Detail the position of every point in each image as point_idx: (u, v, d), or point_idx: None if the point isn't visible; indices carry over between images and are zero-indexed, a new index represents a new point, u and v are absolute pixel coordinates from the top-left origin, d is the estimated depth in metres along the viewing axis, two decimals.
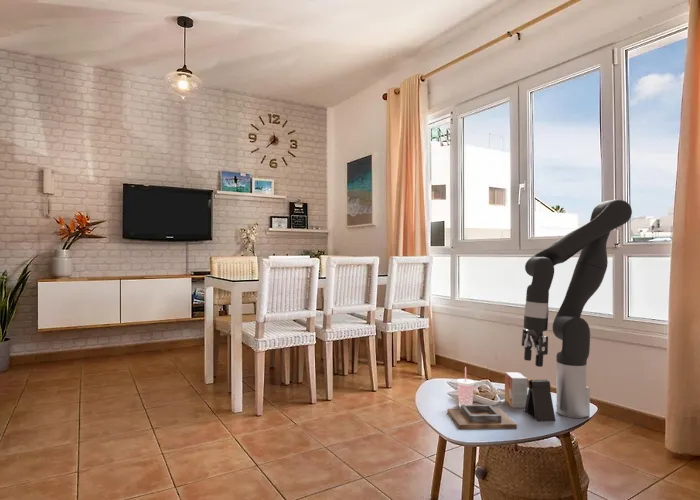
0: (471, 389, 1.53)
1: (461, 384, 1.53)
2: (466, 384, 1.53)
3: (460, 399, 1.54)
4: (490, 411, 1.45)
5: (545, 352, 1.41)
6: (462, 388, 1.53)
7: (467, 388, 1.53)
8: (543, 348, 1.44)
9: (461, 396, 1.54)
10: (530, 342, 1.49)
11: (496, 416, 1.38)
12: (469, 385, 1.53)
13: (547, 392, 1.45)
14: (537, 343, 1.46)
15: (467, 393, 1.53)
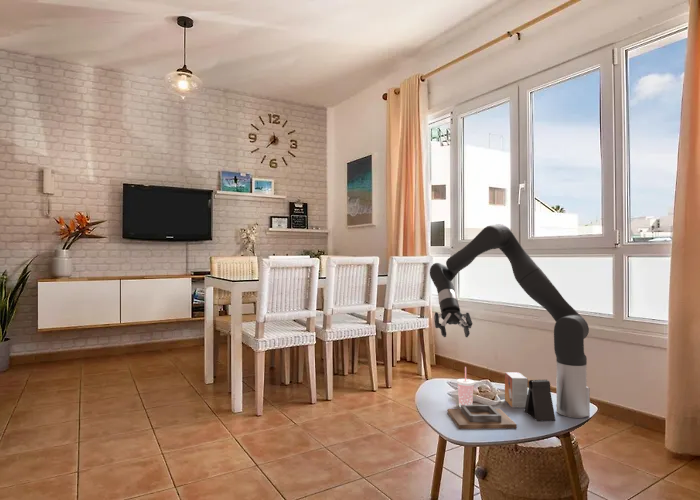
0: (471, 389, 1.53)
1: (461, 384, 1.53)
2: (466, 384, 1.53)
3: (460, 399, 1.54)
4: (490, 411, 1.45)
5: (435, 323, 1.70)
6: (462, 388, 1.53)
7: (467, 388, 1.53)
8: (443, 321, 1.70)
9: (461, 396, 1.54)
10: None
11: (496, 416, 1.38)
12: (469, 385, 1.53)
13: (547, 392, 1.45)
14: None
15: (467, 393, 1.53)
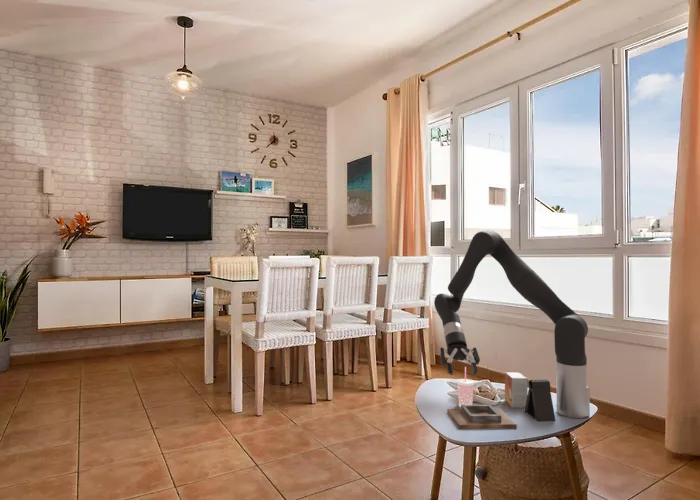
0: (471, 389, 1.53)
1: (461, 384, 1.53)
2: (466, 384, 1.53)
3: (460, 399, 1.54)
4: (490, 411, 1.45)
5: (441, 360, 1.62)
6: (462, 388, 1.53)
7: (467, 388, 1.53)
8: (449, 357, 1.62)
9: (460, 396, 1.54)
10: None
11: (496, 416, 1.38)
12: (469, 385, 1.53)
13: (547, 392, 1.45)
14: None
15: (467, 393, 1.53)
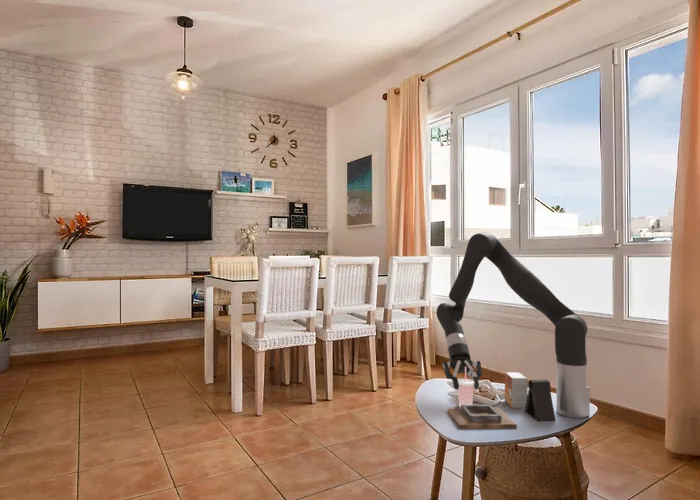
0: (471, 389, 1.53)
1: (461, 384, 1.53)
2: (466, 384, 1.53)
3: (460, 399, 1.54)
4: (490, 411, 1.45)
5: (447, 374, 1.57)
6: (462, 388, 1.53)
7: (467, 388, 1.53)
8: (454, 371, 1.57)
9: (460, 396, 1.54)
10: None
11: (496, 416, 1.38)
12: (469, 385, 1.53)
13: (547, 392, 1.45)
14: None
15: (467, 393, 1.53)
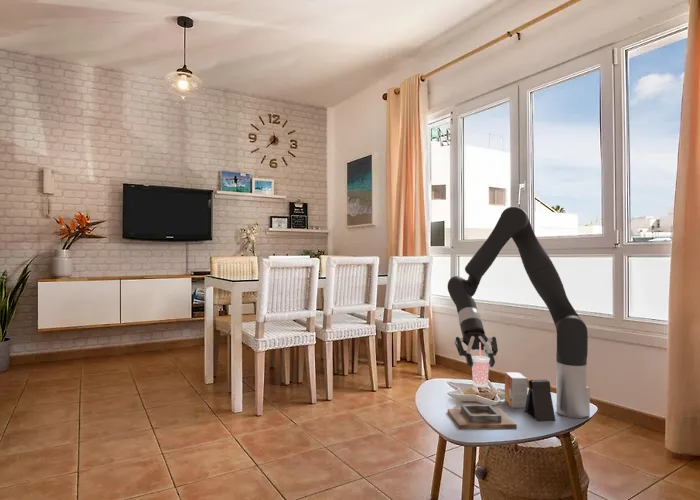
0: (486, 366, 1.41)
1: (475, 361, 1.41)
2: (481, 361, 1.40)
3: (474, 377, 1.42)
4: (490, 411, 1.45)
5: (460, 351, 1.45)
6: (476, 365, 1.41)
7: (482, 365, 1.40)
8: (467, 347, 1.45)
9: (475, 373, 1.42)
10: None
11: (496, 416, 1.38)
12: (484, 362, 1.40)
13: (547, 392, 1.45)
14: None
15: (482, 370, 1.40)
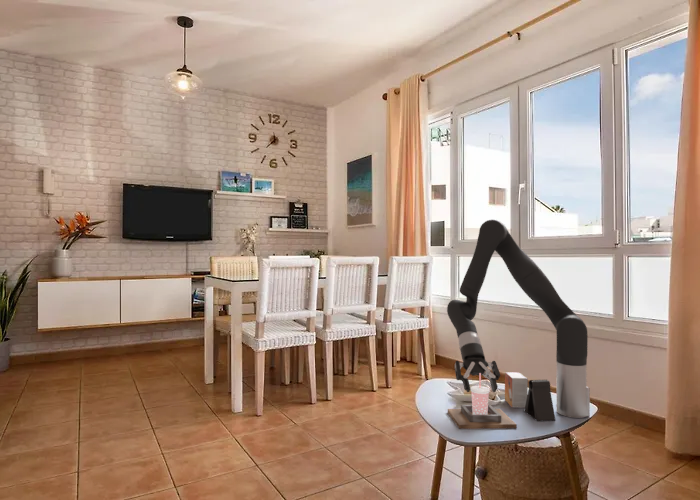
0: (486, 397, 1.41)
1: (475, 392, 1.41)
2: (481, 392, 1.40)
3: (474, 408, 1.42)
4: (490, 411, 1.45)
5: (457, 375, 1.44)
6: (476, 396, 1.41)
7: (482, 396, 1.40)
8: None
9: (475, 405, 1.41)
10: None
11: (496, 416, 1.38)
12: (484, 393, 1.40)
13: (547, 392, 1.45)
14: None
15: (481, 402, 1.40)
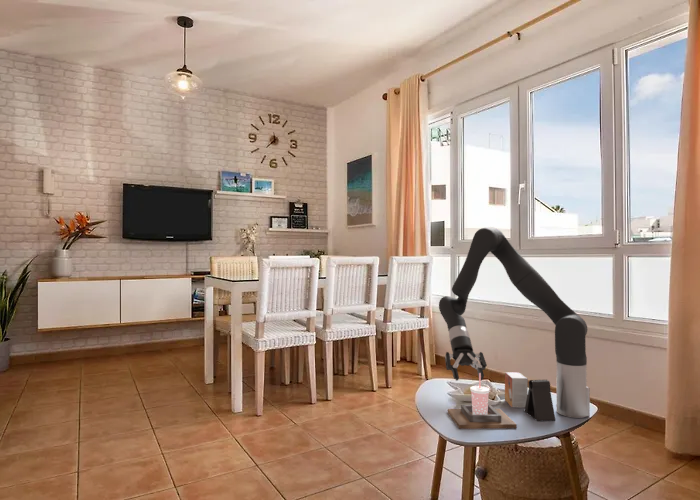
0: (486, 397, 1.41)
1: (475, 392, 1.41)
2: (481, 392, 1.40)
3: (474, 408, 1.42)
4: (490, 411, 1.45)
5: (447, 365, 1.57)
6: (476, 396, 1.41)
7: (482, 396, 1.40)
8: None
9: (475, 404, 1.41)
10: None
11: (496, 416, 1.38)
12: (484, 393, 1.40)
13: (547, 392, 1.45)
14: None
15: (481, 402, 1.40)
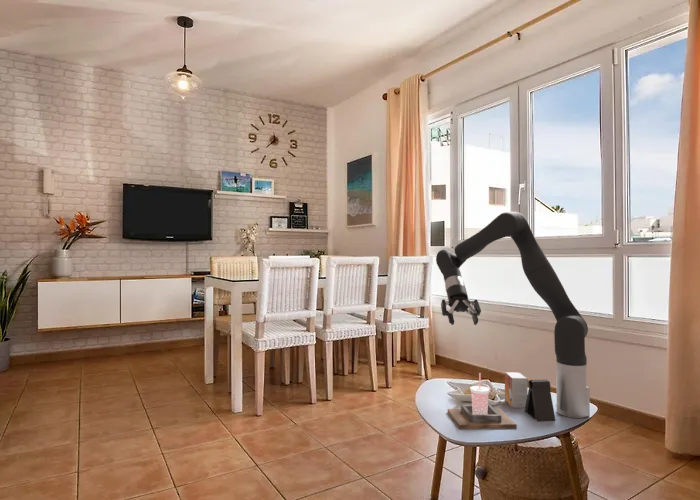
0: (486, 397, 1.41)
1: (475, 392, 1.41)
2: (481, 392, 1.40)
3: (474, 408, 1.42)
4: (490, 411, 1.45)
5: (443, 311, 1.64)
6: (476, 396, 1.41)
7: (482, 396, 1.40)
8: None
9: (475, 405, 1.41)
10: None
11: (496, 416, 1.38)
12: (484, 393, 1.40)
13: (547, 392, 1.45)
14: None
15: (481, 402, 1.40)
